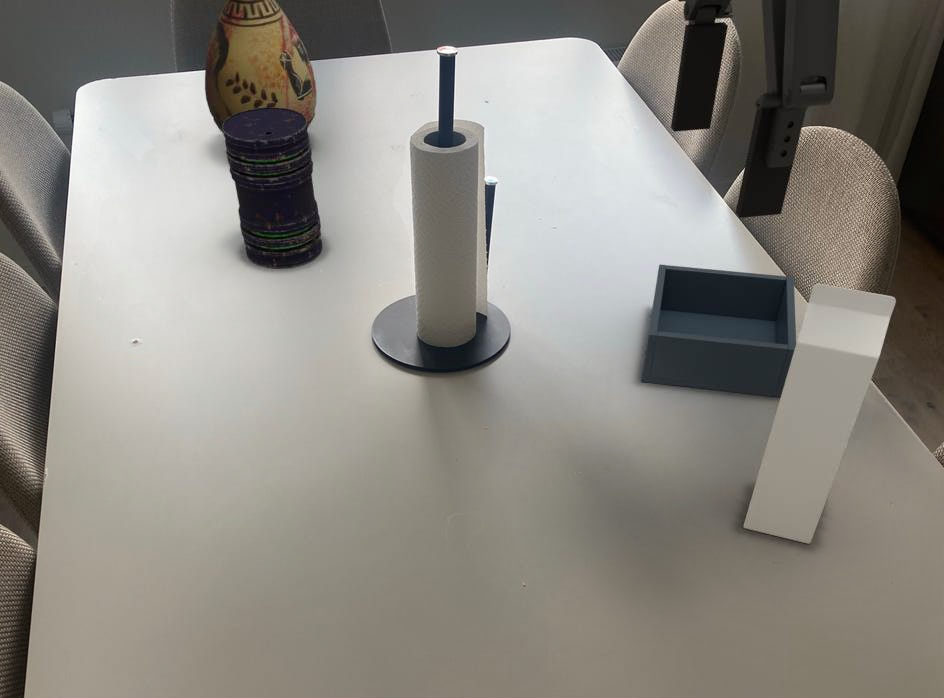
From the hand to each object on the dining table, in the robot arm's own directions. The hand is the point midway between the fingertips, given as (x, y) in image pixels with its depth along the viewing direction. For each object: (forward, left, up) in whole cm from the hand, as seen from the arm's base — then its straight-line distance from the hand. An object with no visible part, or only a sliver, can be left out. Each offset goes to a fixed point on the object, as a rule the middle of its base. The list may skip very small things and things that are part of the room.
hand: (721, 168), depth 64 cm
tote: (-4, -27, -30) cm, 41 cm away
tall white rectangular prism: (-11, -1, -30) cm, 32 cm away
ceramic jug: (+62, -69, -30) cm, 98 cm away
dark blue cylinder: (+50, -40, -30) cm, 71 cm away
